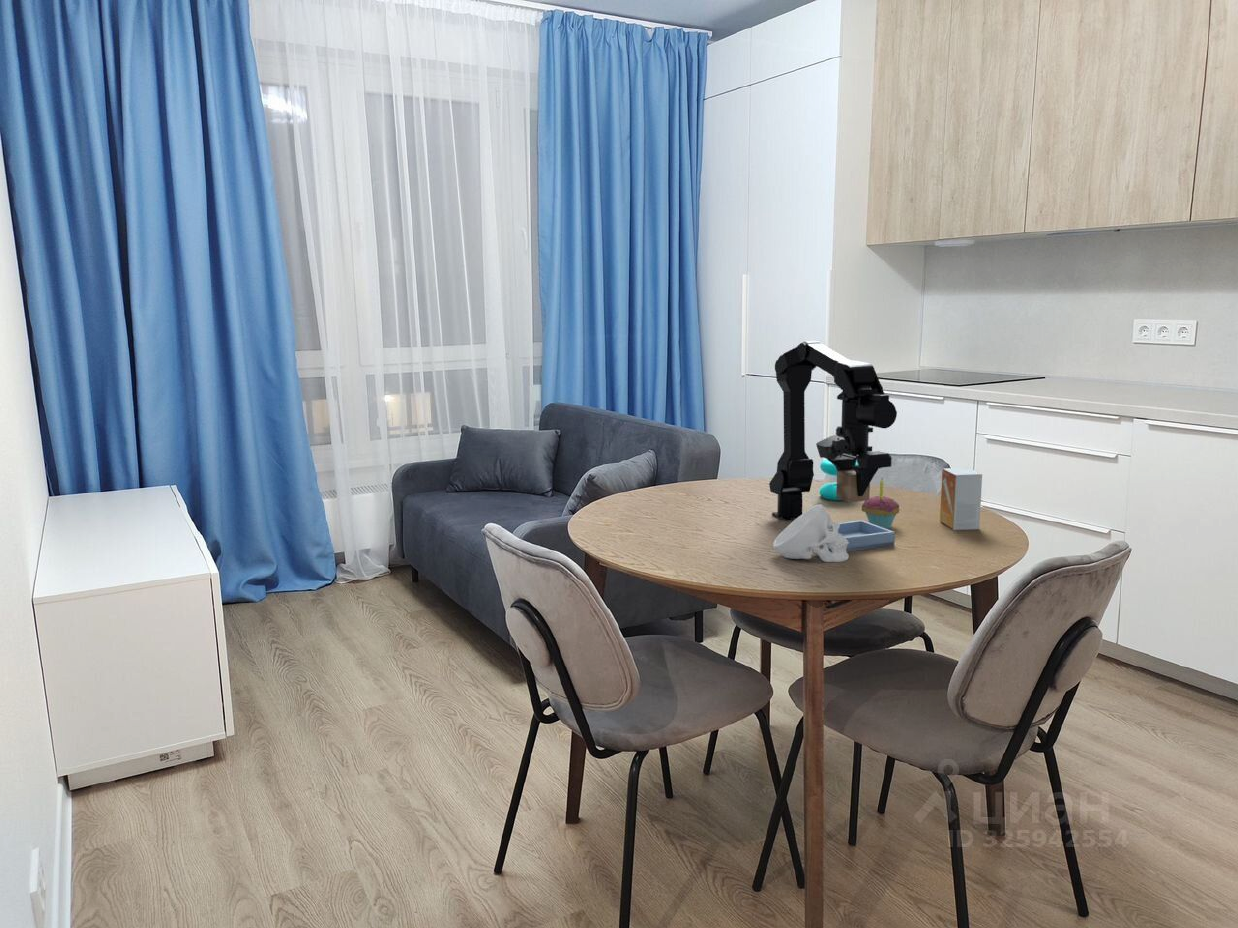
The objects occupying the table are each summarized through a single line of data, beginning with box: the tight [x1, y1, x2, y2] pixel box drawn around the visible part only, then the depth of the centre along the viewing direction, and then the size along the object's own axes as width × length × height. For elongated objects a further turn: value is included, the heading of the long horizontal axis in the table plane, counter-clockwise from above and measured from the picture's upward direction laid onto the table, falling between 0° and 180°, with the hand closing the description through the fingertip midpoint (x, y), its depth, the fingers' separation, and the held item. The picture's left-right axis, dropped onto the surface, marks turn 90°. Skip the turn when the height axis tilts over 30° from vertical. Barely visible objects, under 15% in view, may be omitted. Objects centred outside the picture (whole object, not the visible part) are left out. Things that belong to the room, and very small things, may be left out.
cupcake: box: [861, 477, 900, 530], centre depth 211 cm, size 9×8×12 cm
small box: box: [939, 467, 983, 531], centre depth 211 cm, size 8×6×13 cm
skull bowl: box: [772, 503, 850, 563], centre depth 188 cm, size 10×14×12 cm
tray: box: [838, 519, 896, 553], centre depth 199 cm, size 12×14×3 cm
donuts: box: [819, 459, 858, 502], centre depth 242 cm, size 10×10×10 cm
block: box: [836, 469, 871, 503], centre depth 197 cm, size 5×5×6 cm
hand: (852, 493), depth 197 cm, fingers closed on block, 5 cm apart
